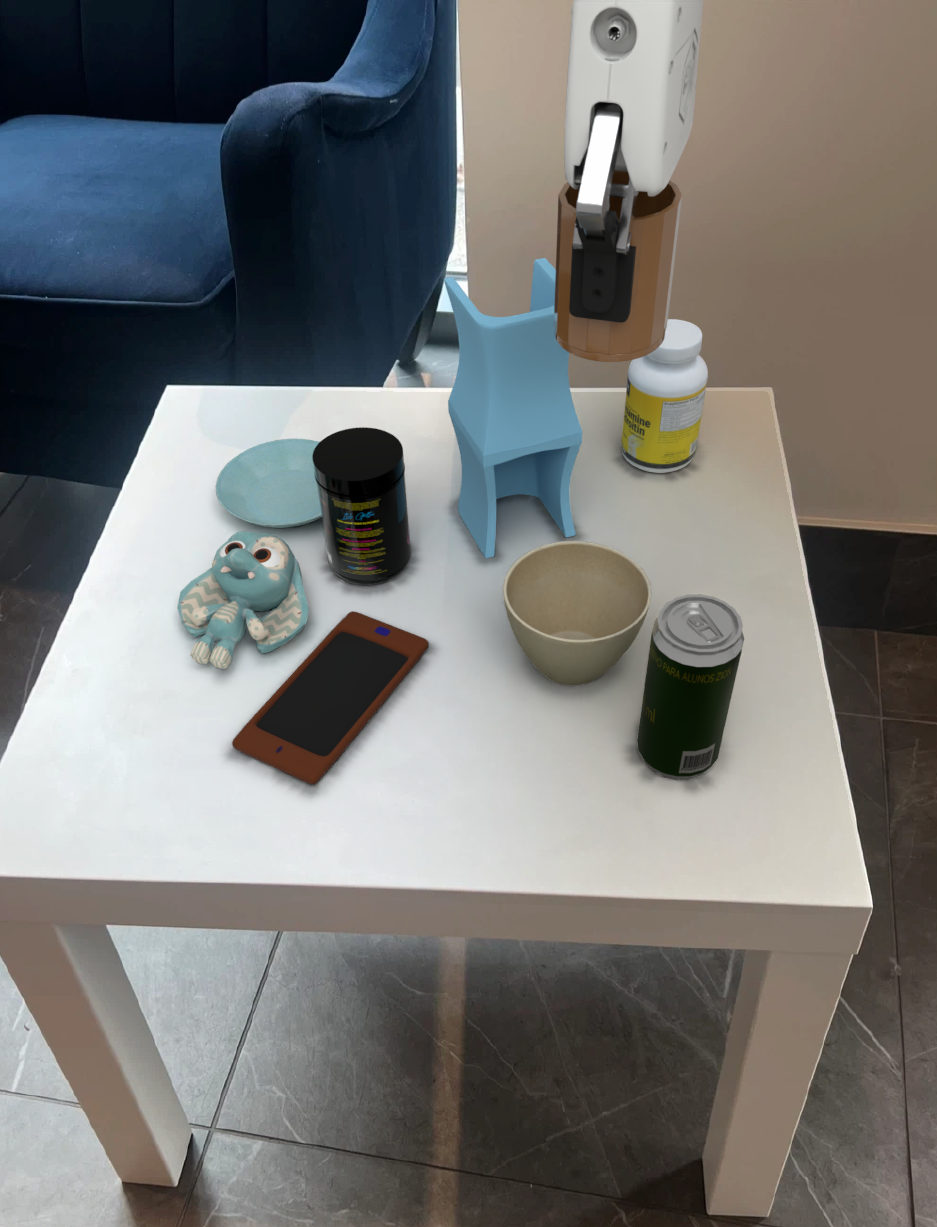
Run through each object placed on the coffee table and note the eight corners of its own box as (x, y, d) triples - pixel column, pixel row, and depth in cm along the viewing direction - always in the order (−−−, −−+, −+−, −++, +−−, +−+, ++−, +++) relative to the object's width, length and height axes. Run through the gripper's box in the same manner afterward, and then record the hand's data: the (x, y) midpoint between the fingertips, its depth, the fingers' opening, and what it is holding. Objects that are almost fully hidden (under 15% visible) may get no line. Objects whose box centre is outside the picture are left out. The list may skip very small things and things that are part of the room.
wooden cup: (625, 296, 67) (637, 159, 61) (686, 343, 63) (705, 202, 57) (534, 323, 65) (537, 186, 59) (591, 373, 61) (600, 231, 55)
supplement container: (422, 577, 87) (414, 468, 80) (339, 598, 86) (323, 489, 78) (398, 526, 92) (389, 419, 84) (319, 545, 90) (302, 438, 83)
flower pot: (483, 692, 78) (482, 619, 73) (528, 601, 85) (529, 528, 79) (621, 728, 75) (629, 655, 70) (656, 631, 82) (667, 557, 76)
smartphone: (431, 638, 81) (313, 780, 72) (431, 647, 82) (315, 789, 73) (350, 606, 84) (228, 740, 75) (351, 616, 84) (230, 749, 76)
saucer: (384, 508, 93) (382, 486, 92) (261, 564, 89) (257, 542, 88) (314, 444, 100) (310, 422, 99) (197, 493, 96) (191, 472, 95)
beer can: (734, 764, 73) (766, 635, 64) (666, 795, 71) (688, 667, 63) (686, 710, 76) (710, 580, 67) (620, 739, 75) (635, 610, 66)
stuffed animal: (123, 614, 78) (197, 490, 84) (155, 669, 84) (223, 550, 90) (258, 647, 75) (326, 516, 81) (282, 702, 81) (344, 577, 87)
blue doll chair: (538, 480, 95) (545, 256, 80) (576, 535, 90) (590, 305, 75) (452, 502, 93) (442, 278, 79) (484, 558, 88) (481, 329, 74)
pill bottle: (621, 431, 99) (631, 311, 91) (694, 434, 98) (712, 313, 90) (619, 475, 95) (630, 353, 86) (696, 478, 94) (715, 355, 86)
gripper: (695, -40, 42) (649, 376, 55) (757, -143, 53) (707, 224, 66) (505, -47, 44) (505, 357, 57) (604, -145, 55) (584, 212, 68)
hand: (614, 283), depth 62 cm, fingers closed on wooden cup, 6 cm apart
